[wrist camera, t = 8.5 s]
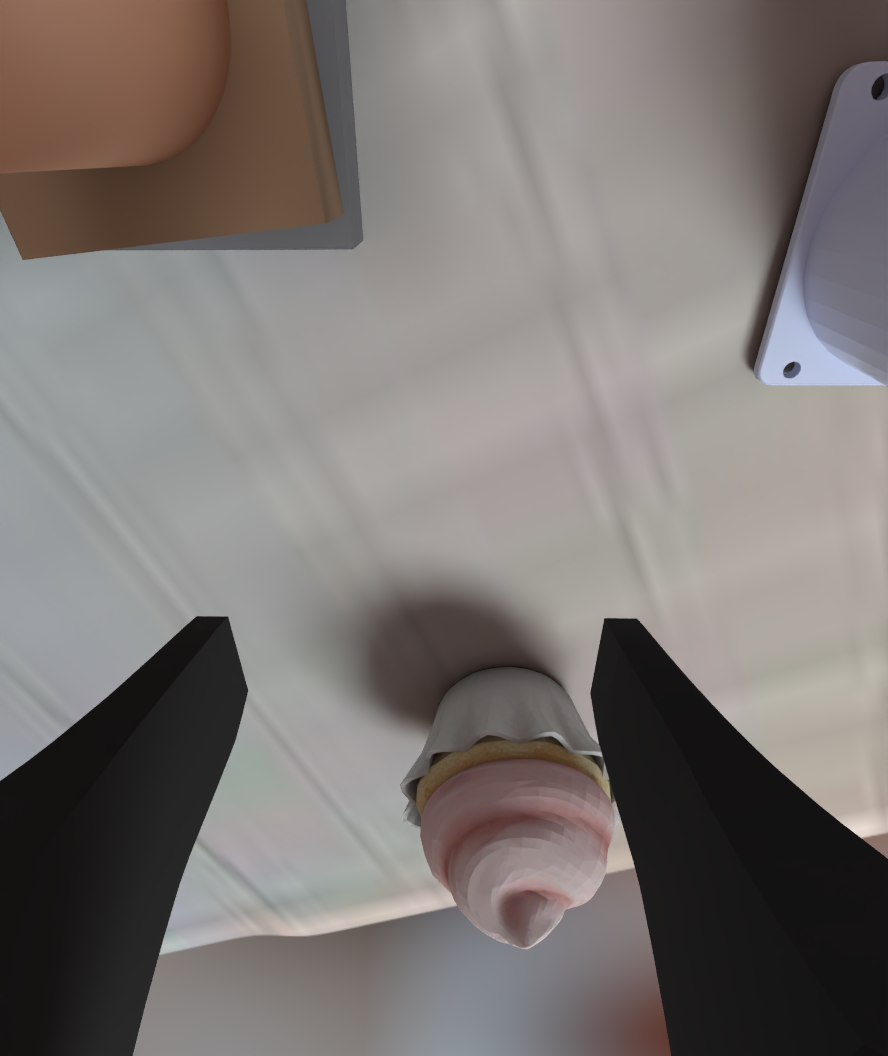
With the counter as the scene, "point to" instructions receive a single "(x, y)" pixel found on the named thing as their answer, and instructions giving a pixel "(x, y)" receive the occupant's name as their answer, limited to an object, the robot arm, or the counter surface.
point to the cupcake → (512, 803)
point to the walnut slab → (204, 159)
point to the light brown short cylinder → (107, 80)
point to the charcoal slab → (337, 93)
